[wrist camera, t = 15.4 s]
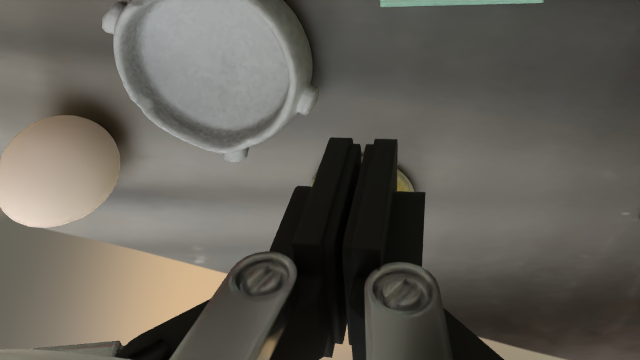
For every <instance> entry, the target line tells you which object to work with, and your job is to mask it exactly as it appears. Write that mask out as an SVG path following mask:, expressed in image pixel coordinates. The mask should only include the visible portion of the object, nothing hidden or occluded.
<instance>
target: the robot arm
mask: <svg viewBox="0 0 640 360" xmlns="http://www.w3.org/2000/svg"><path fill="white" fill-rule="evenodd" d="M397 151H398V144H397V139H375V141H374V144H366V147H365V152H364V156H363V160H362V163H361V146H360V144H353V139H352V138H330V139H329V142H328V144H327V147H326V150H325V153H324V155H323V158H322V161H321V164H320V166H319V169H318V172H317V175H316V177H315V180H314V183H313V186H312V187H309V186H297V187H296V188H295V190H294V192H293V194H292V197H291V199H290V202H289V204H288V207H287V209H286V211H285V214H284V216H283V219H282V221H281V224H280V226H279V229H278V231H277V233H276V236H275V238H274V241H273V243H272V246H271V248H270V251H269V252H268V251H266V252H259V253H255V254H252V255H249V256H247V257H245V258H243V259H242V260H240V261H239V262H238V263H237V264H236V265H235V266H234V267H233V268H232V269H231V271H230V272H229V273H228V275H227V277H226V278H225V279H224V281H223V282H222V284H221V285H220V287H219V288H218V290H217V291H216V292H215V294H214V295H213V297H212V298H211V299H210V300H207V301H206V302H204V303H202V304H200V305H198V306H196V307H194V308H192V309H190V310H188V311H186V312H184V313H182V314H180V315H178V316H176V317H174V318H172V319H170V320H168V321H166V322H164V323H162V324H160V325H158V326H156V327H154V328H153V329H151V330H149V331H147V332H145V333H143V334H141V335H139V336H138V337H136V338H134V339H133V340H131V341H130V342H129V343H128V344H127V345H126V346H122V345H121V343H120V341H112V342H100V343H90V344H78V345H67V346H56V347H44V348H36V349H0V360H319V359H321V358H322V357H331V358H332V355H333V350H334V345H335V343H337V344H342V343H343V341H344V336H345V331H346V326H347V325H348V338H349V345H352V355H353V360H504V359H503V358H502V357H500V356H499V355H498V354H497V353H496V352H495V351H493V350H492V349H491V348H490V347H489V346H487V345H486V344H485V343H484V342H483V341H482V340H481V339H479V338H478V337H477V336H476V335H475V334H473V333H472V332H471V331H470V330H469V329H468V328H466V327H465V326H464V325H463V324H462V323H461V322H459V321H458V320H457V319H456V318H455V317H454V316H452V315H451V314H450V313H449V312H448V311H447V310H445V309H444V308H443V304H442V299H441V294H440V288H439V286H438V283H437V281H436V279H435V278H434V277H433V275H432V274H431V273H430V272H429V271H427V270H425V269H424V268H422V251H423V231H424V210H425V192H407V191H397Z"/></svg>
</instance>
